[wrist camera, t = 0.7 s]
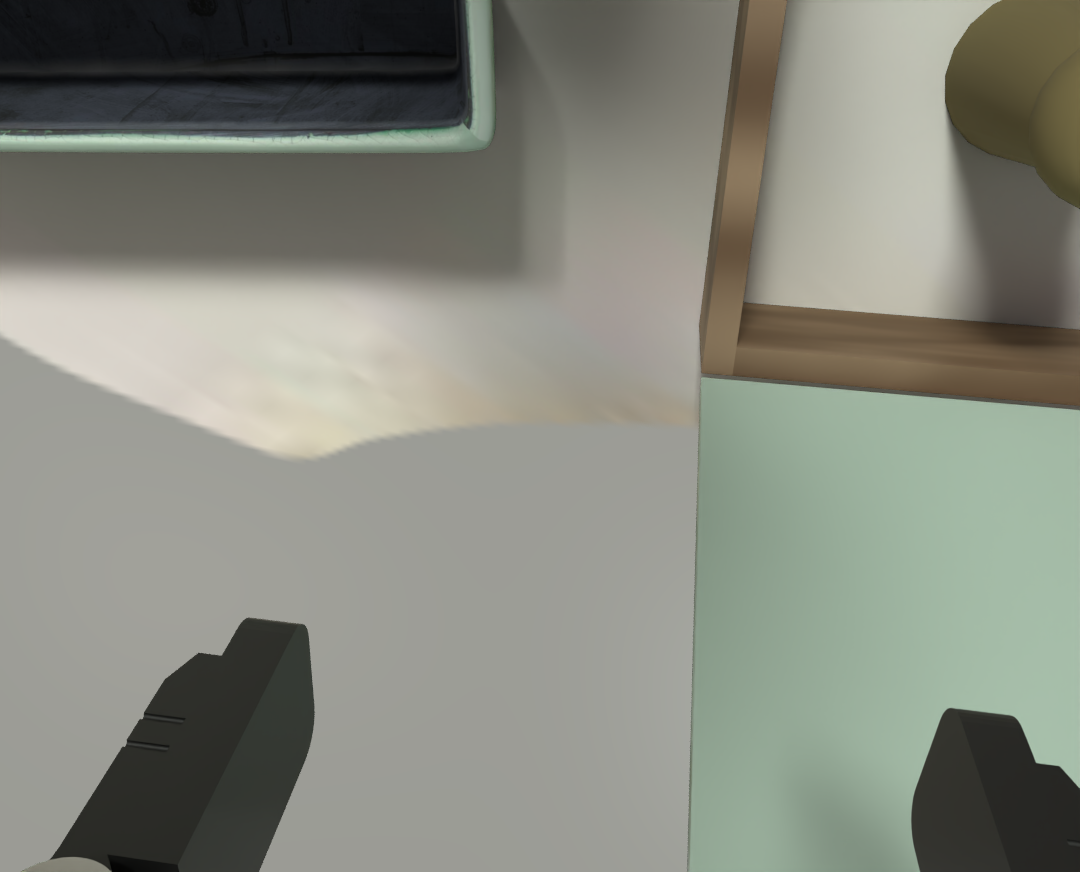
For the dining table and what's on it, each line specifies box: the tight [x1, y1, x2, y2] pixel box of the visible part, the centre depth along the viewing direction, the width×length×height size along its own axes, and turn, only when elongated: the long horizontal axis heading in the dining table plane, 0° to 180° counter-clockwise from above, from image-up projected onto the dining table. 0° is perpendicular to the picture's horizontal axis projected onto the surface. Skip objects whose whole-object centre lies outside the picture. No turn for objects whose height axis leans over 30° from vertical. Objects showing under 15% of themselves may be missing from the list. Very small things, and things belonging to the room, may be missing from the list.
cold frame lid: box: [687, 377, 1080, 872], centre depth 30 cm, size 22×22×1 cm
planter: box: [0, 0, 496, 153], centre depth 37 cm, size 28×7×7 cm, turn 91°
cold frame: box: [699, 0, 1080, 406], centre depth 35 cm, size 22×22×5 cm
